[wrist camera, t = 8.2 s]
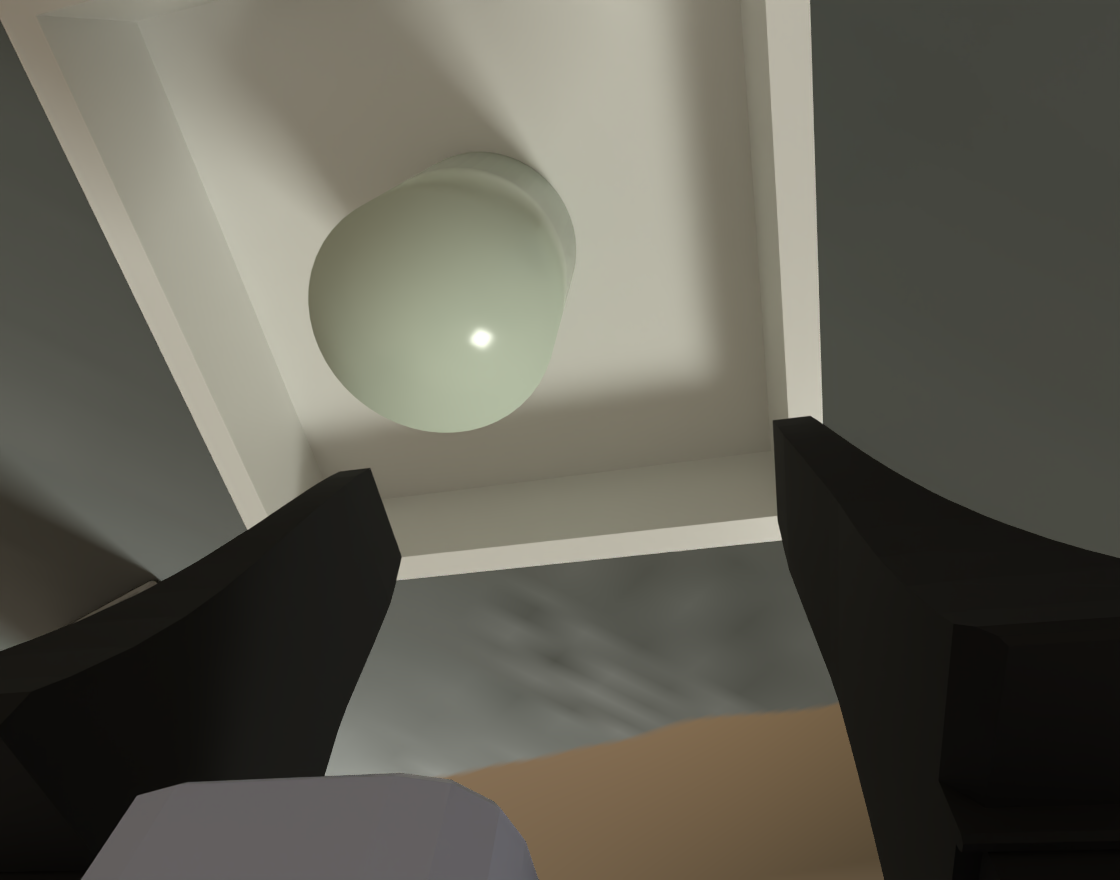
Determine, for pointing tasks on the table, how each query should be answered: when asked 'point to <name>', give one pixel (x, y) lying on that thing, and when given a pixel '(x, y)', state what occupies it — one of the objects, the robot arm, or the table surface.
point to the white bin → (413, 146)
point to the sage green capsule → (446, 293)
